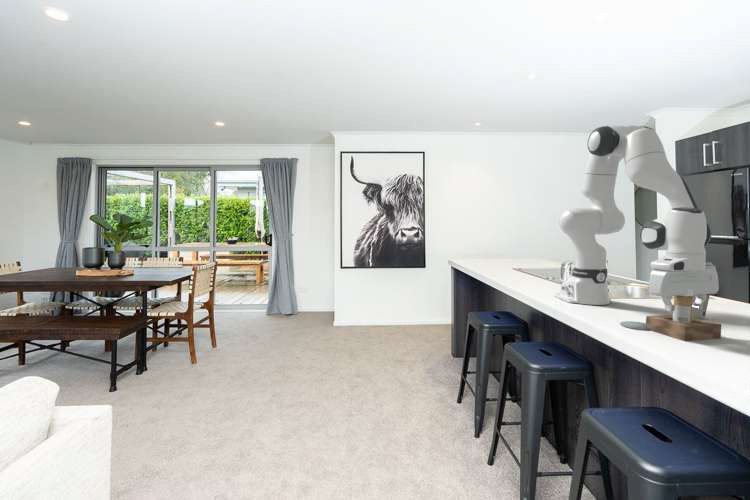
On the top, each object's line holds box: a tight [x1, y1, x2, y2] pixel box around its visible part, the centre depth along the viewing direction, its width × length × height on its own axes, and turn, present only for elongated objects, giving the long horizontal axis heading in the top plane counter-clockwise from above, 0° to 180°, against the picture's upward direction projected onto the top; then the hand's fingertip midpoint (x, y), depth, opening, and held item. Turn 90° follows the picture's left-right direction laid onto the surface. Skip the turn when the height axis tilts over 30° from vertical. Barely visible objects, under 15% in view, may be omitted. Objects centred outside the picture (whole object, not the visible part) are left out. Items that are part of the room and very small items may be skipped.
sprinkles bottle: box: [672, 290, 694, 324], centre depth 107 cm, size 5×5×13 cm
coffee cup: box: [692, 294, 712, 320], centre depth 124 cm, size 7×7×10 cm
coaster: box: [619, 320, 651, 331], centre depth 115 cm, size 9×9×1 cm
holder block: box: [645, 314, 722, 342], centre depth 107 cm, size 12×12×4 cm
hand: (683, 309), depth 107 cm, fingers open, 8 cm apart
